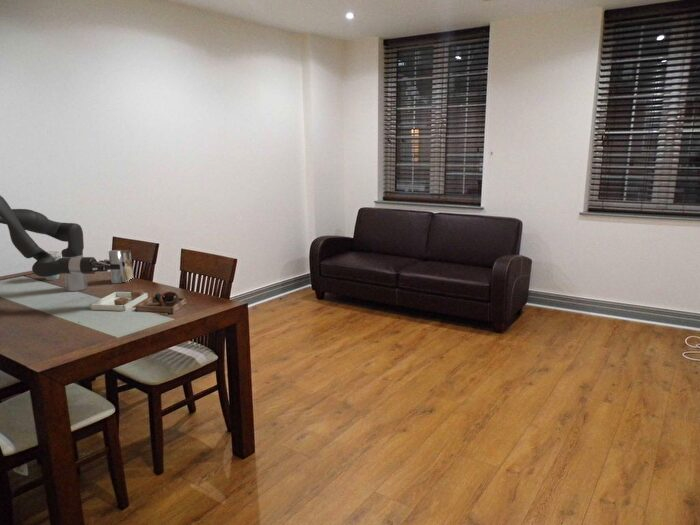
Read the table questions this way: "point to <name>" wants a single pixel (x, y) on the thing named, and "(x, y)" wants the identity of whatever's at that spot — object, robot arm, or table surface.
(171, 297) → the pottery mug
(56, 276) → the disposable coffee cup
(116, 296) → the tray
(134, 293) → the walnut block
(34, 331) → the table surface
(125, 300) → the walnut block
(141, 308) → the brown wooden tray
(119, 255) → the part cylinder
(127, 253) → the coffee box
